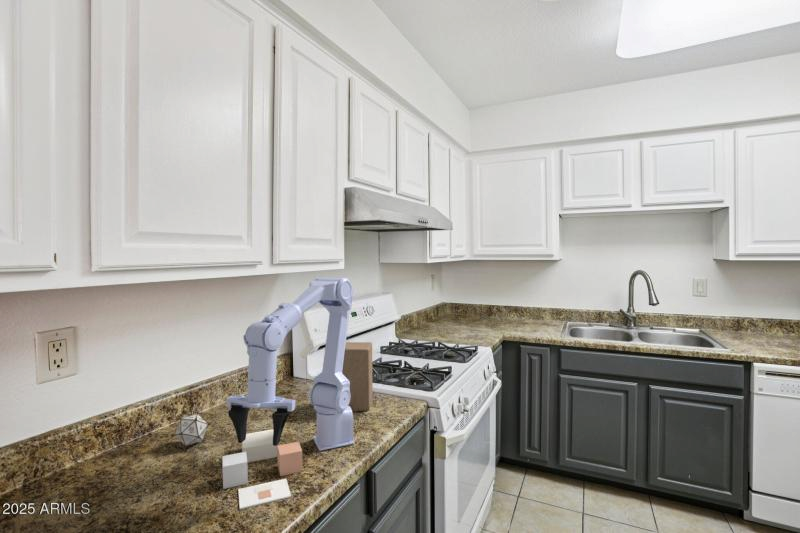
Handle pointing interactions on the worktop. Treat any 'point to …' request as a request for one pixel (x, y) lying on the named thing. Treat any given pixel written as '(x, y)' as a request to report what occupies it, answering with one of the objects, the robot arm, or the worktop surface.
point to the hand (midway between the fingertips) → (259, 442)
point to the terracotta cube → (289, 458)
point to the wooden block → (359, 374)
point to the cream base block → (259, 446)
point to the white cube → (235, 470)
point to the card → (263, 493)
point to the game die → (191, 429)
